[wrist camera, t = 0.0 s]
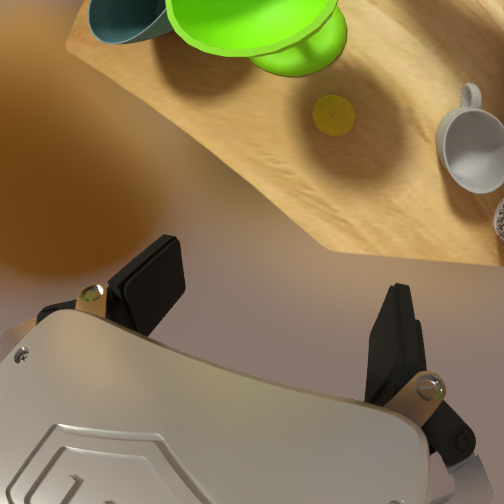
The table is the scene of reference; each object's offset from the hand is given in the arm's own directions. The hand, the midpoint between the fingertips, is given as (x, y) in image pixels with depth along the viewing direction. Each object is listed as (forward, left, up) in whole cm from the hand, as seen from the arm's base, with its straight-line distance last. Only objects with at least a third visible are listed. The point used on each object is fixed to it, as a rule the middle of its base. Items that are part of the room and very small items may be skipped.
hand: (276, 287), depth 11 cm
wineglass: (-19, -7, -32) cm, 37 cm away
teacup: (-8, +19, -32) cm, 38 cm away
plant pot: (-26, -26, -32) cm, 48 cm away
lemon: (-6, 0, -31) cm, 32 cm away
